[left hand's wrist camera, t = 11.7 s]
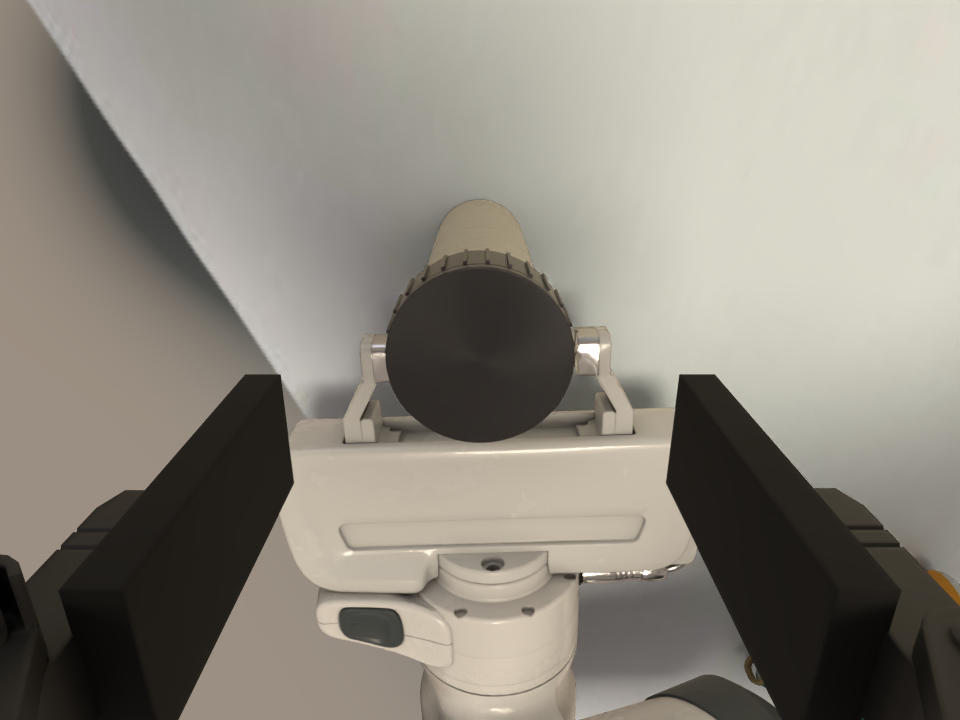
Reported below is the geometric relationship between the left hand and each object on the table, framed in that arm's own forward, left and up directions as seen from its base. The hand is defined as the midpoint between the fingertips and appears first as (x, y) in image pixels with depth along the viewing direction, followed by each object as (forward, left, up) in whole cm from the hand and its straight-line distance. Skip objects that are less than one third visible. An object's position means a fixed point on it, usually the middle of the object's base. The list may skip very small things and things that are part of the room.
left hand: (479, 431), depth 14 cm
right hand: (+2, -1, -14) cm, 14 cm away
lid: (0, 0, -5) cm, 5 cm away
